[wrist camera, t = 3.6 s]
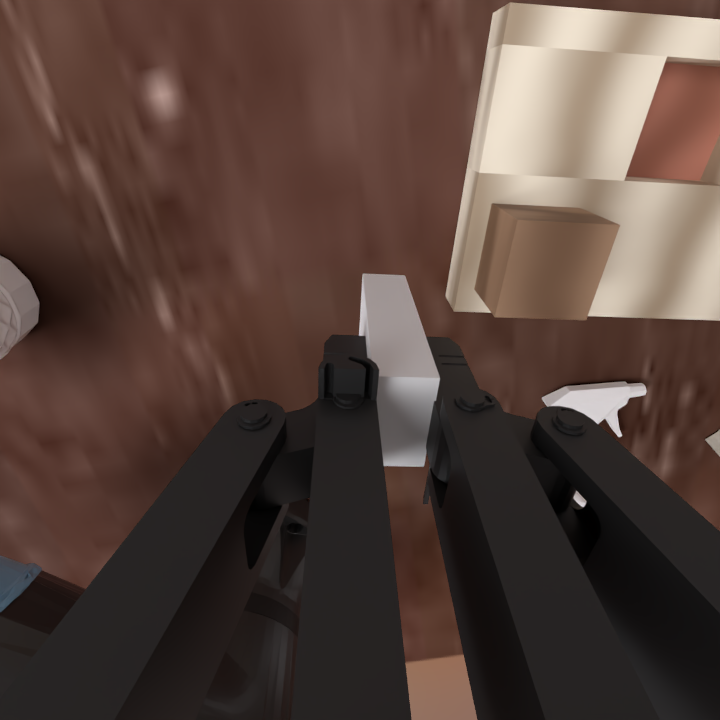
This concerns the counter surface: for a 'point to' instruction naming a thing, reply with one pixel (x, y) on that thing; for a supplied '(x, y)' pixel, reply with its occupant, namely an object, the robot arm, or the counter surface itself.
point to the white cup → (15, 306)
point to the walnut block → (543, 261)
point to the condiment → (714, 442)
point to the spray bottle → (596, 404)
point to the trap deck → (603, 149)
